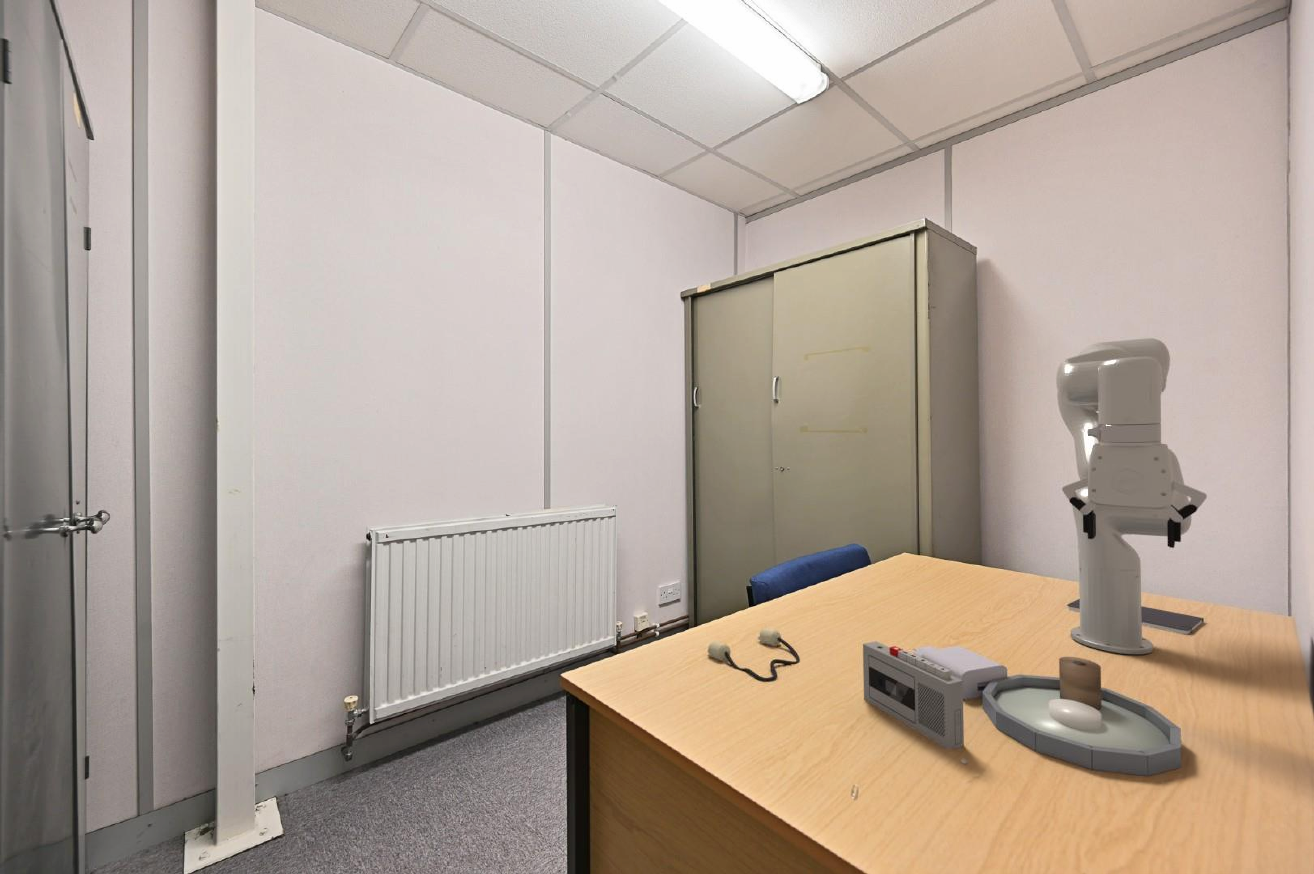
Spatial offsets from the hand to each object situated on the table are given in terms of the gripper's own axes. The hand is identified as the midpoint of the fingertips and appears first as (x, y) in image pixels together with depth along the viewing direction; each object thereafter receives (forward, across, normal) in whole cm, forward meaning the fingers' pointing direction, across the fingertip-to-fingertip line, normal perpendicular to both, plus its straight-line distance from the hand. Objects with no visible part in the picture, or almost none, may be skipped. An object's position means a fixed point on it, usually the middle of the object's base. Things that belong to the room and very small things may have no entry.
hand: (1130, 541), depth 86 cm
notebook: (+28, -4, +48) cm, 56 cm away
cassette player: (+24, -22, -34) cm, 47 cm away
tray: (+24, -5, -19) cm, 31 cm away
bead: (+23, -5, -13) cm, 27 cm away
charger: (+25, -23, -14) cm, 37 cm away
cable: (+24, -51, -30) cm, 64 cm away
